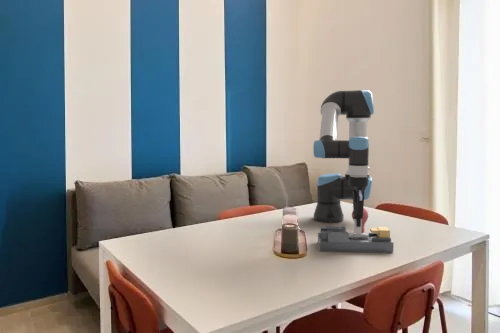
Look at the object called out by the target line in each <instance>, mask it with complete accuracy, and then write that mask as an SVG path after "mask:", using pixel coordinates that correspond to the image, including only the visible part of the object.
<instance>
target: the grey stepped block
mask: <svg viewBox="0 0 500 333" xmlns="http://www.w3.org/2000/svg"><path fill="white" fill-rule="evenodd" d="M319 229H320V230H319V232H318V233H317V244H318V248H319V252H321V253H323V252H329V253H331V252H332V253H333V252H335V253H337V252H338V253H339V252H340V253H383V252H393V253H394V241H393V240H392V238H391V237H390V238H378V237H377V233H371V232H368V235H369V237H350V238H349V234H348V233H349V232H348V231H347V228H346V226H345V225H343V226H342V225H339V226H338V225H337V226H336V225H325V226H324V227H323V226H322V227H321V226H320V227H319Z"/></svg>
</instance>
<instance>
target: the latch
mask: <svg viewBox="0 0 500 333" xmlns="http://www.w3.org/2000/svg"><path fill="white" fill-rule="evenodd" d="M369 232H370V233H377V237H378V238H391V230H390V228H389V227H388V226H377V227H375V228H374V227H369Z"/></svg>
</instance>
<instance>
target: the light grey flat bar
mask: <svg viewBox="0 0 500 333" xmlns="http://www.w3.org/2000/svg"><path fill="white" fill-rule="evenodd" d="M348 234H349V238H350V237H369V235H368V234H369V232H364V233H362V235H355V234H354V232H348Z"/></svg>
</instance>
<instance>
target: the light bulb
mask: <svg viewBox="0 0 500 333" xmlns="http://www.w3.org/2000/svg"><path fill="white" fill-rule="evenodd" d="M353 217H354V214H353V211H352V212H351V218H352V221H354V219H353ZM368 218H369V213H368V211H367V209H366V208H364V207H363V218H362V233H365V225H366V222H367V221H368Z"/></svg>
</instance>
